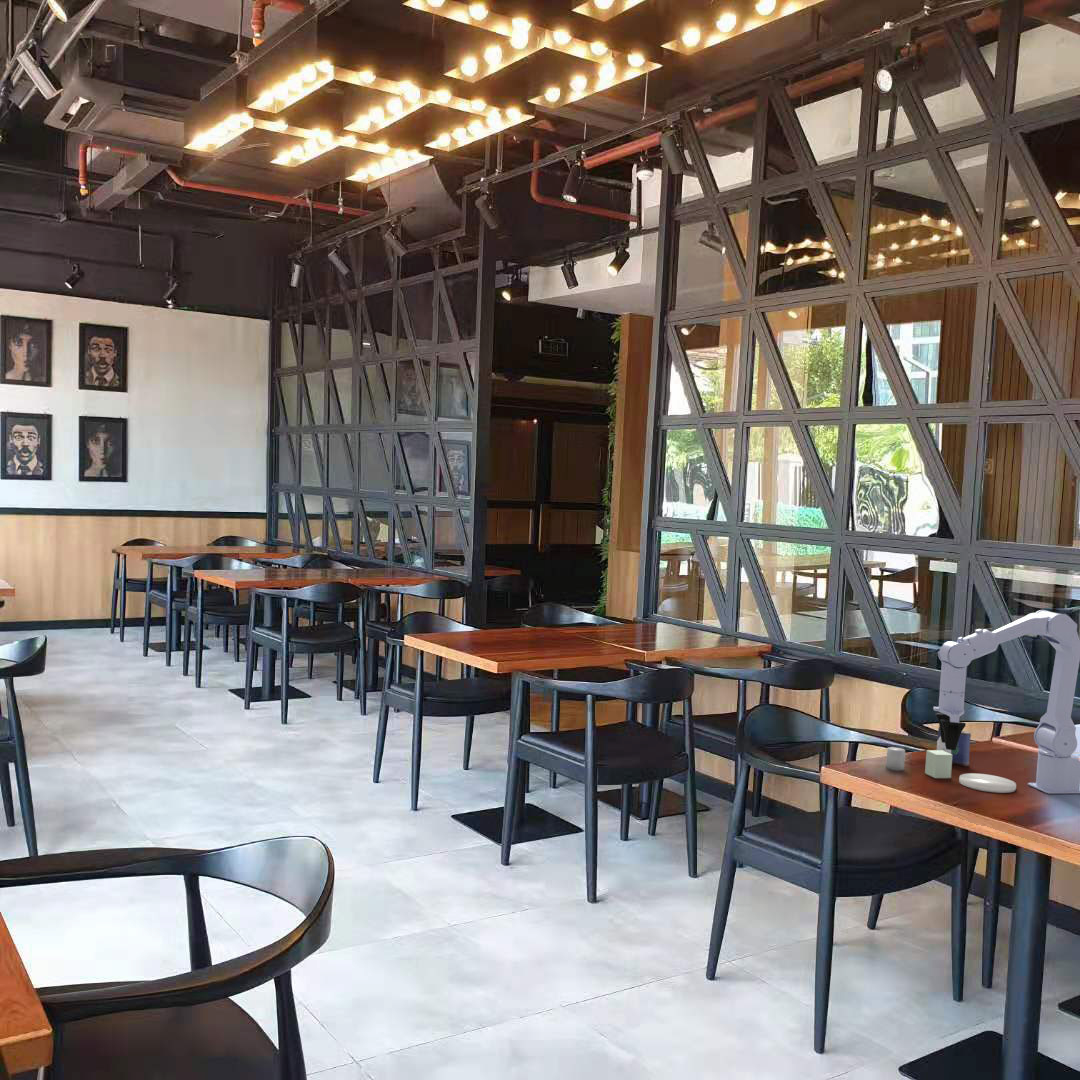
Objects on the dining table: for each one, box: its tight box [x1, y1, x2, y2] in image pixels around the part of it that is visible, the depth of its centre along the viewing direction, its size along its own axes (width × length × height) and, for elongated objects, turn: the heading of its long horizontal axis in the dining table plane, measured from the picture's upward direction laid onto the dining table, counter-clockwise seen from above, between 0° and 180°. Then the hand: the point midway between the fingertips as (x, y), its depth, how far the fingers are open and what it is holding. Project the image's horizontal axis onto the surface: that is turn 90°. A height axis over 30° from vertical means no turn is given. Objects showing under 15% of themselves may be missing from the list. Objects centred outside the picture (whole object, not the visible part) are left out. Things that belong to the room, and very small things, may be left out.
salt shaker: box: [936, 736, 951, 754], centre depth 283 cm, size 4×4×9 cm
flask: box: [937, 726, 972, 767], centre depth 289 cm, size 9×3×11 cm, turn 37°
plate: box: [958, 772, 1017, 794], centre depth 267 cm, size 13×13×1 cm
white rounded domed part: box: [885, 746, 906, 772], centre depth 279 cm, size 4×4×5 cm
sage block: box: [924, 749, 953, 779], centre depth 274 cm, size 4×4×6 cm
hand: (948, 746), depth 264 cm, fingers open, 7 cm apart
